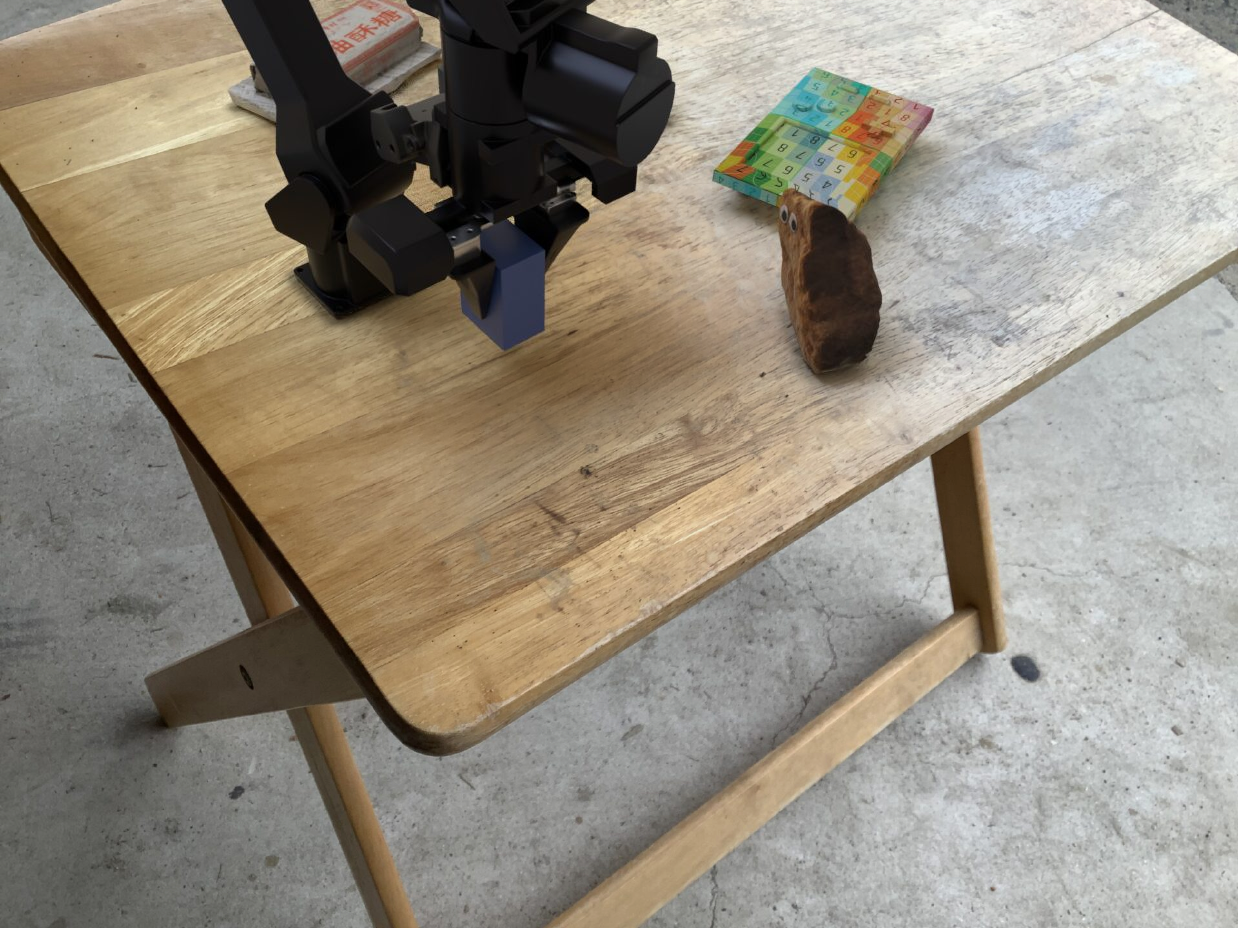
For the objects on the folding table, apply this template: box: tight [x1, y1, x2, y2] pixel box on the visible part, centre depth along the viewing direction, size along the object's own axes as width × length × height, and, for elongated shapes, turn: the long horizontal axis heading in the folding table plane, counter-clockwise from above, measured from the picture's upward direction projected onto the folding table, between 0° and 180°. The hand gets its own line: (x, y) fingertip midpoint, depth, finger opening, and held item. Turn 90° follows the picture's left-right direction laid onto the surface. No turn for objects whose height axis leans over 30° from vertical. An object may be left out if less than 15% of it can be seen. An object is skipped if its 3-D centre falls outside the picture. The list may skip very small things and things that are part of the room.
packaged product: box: [227, 0, 442, 123], centre depth 100 cm, size 18×5×10 cm
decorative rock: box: [777, 188, 883, 375], centre depth 79 cm, size 12×6×11 cm, turn 11°
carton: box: [459, 218, 546, 352], centre depth 73 cm, size 5×4×7 cm
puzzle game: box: [711, 66, 935, 222], centre depth 94 cm, size 12×5×20 cm
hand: (502, 304), depth 75 cm, fingers closed on carton, 3 cm apart
